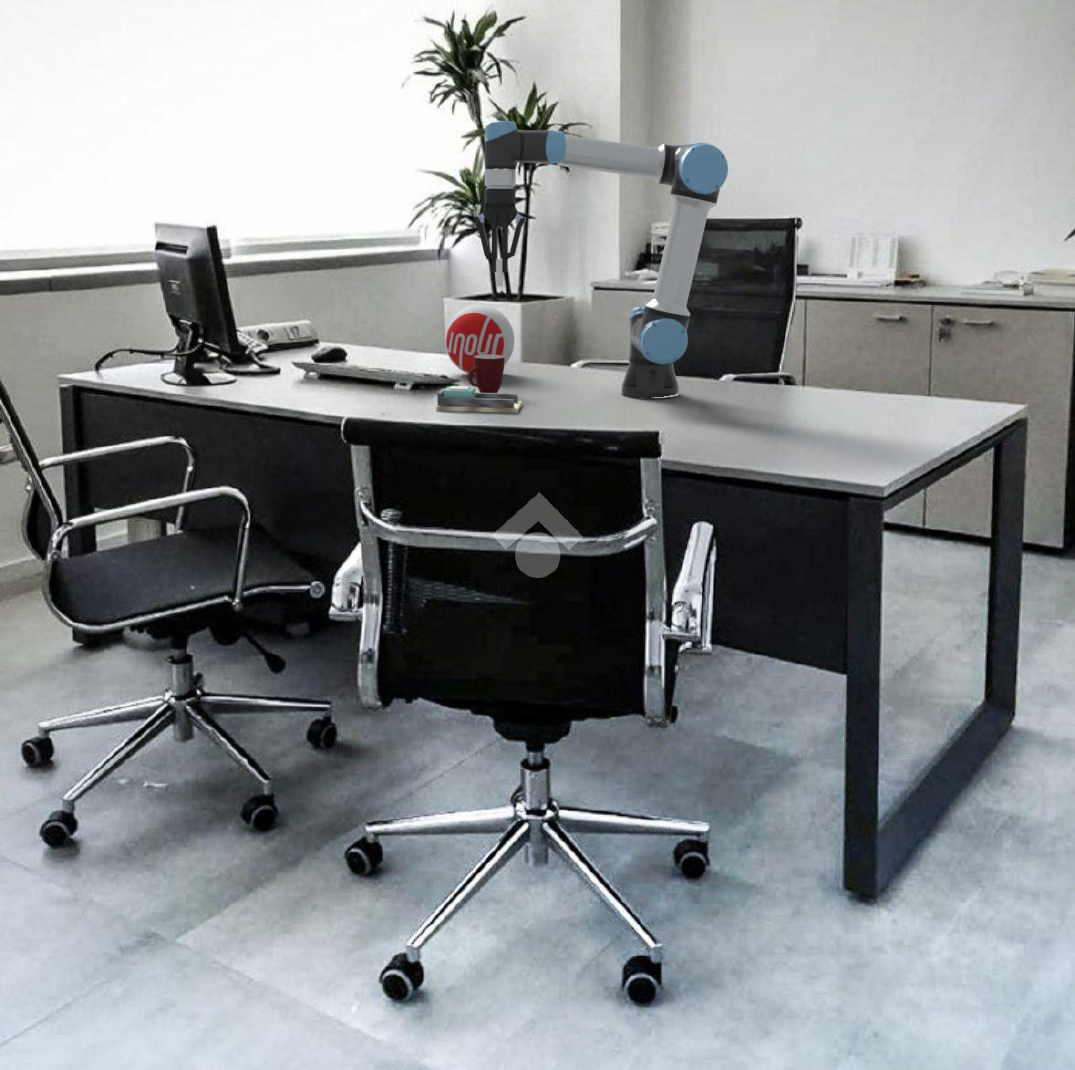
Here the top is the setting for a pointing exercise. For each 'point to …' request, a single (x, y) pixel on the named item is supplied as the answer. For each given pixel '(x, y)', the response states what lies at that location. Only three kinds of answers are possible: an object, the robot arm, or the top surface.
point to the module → (459, 392)
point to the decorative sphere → (478, 336)
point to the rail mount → (480, 403)
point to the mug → (487, 373)
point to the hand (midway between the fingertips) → (499, 285)
